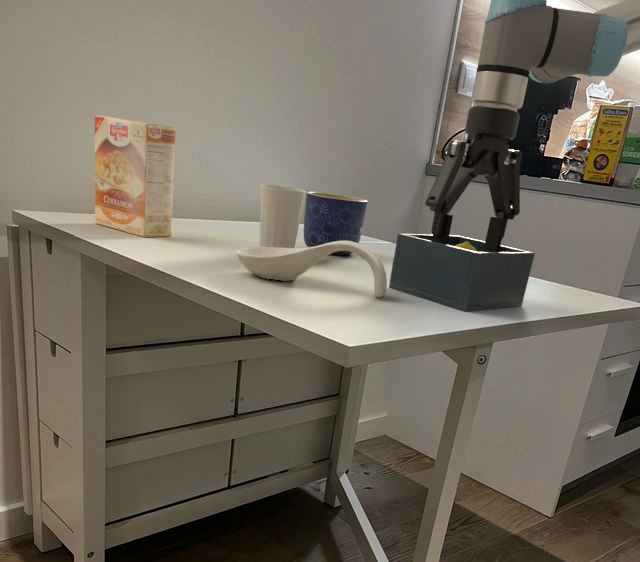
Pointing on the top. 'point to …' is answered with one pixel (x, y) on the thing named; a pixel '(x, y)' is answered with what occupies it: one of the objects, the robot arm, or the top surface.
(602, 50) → the robot arm
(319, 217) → the planter
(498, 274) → the dark grey open box
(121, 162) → the coffeecake box
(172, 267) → the top surface
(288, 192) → the cup
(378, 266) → the spoon rest
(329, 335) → the top surface
